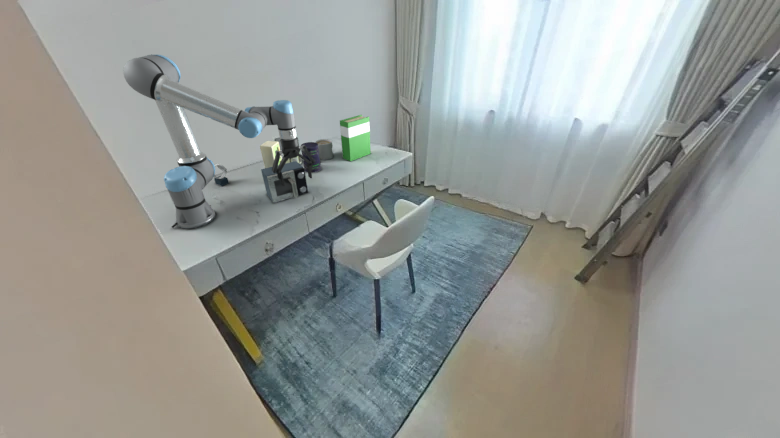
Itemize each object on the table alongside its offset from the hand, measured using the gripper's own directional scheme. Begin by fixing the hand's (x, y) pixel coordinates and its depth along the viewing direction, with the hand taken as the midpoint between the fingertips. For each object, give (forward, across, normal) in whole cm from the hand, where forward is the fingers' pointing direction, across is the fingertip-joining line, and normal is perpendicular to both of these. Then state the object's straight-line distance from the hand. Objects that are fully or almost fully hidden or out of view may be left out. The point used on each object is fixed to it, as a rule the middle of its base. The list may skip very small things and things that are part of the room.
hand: (296, 181), depth 151 cm
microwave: (+11, -3, +10) cm, 15 cm away
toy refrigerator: (+11, -2, +29) cm, 31 cm away
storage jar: (+11, +20, +31) cm, 39 cm away
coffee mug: (+11, +36, +45) cm, 59 cm away
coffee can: (+11, +14, +47) cm, 51 cm away
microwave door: (+11, -5, +3) cm, 12 cm away
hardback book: (+11, +52, +34) cm, 63 cm away
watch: (+10, -28, +42) cm, 52 cm away
